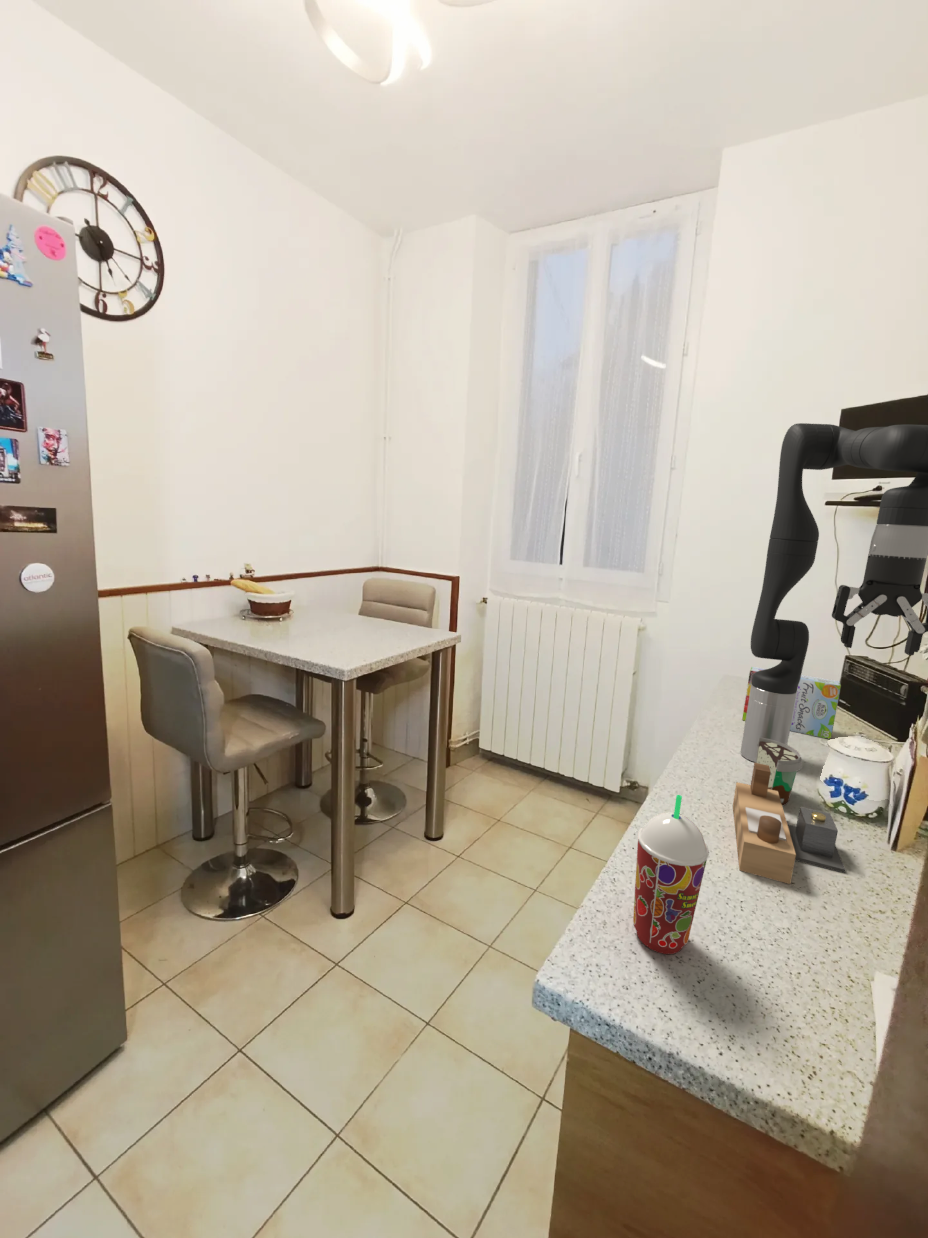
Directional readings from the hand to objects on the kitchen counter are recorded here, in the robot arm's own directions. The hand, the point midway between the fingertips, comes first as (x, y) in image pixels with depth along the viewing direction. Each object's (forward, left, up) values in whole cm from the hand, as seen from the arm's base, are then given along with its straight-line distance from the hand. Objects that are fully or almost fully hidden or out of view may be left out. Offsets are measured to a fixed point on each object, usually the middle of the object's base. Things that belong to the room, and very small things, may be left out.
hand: (877, 650), depth 91 cm
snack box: (-57, -2, -34) cm, 67 cm away
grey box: (+8, -5, -33) cm, 35 cm away
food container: (-10, -9, -34) cm, 37 cm away
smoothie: (+42, -28, -34) cm, 61 cm away
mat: (+8, -5, -34) cm, 35 cm away
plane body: (+10, -14, -34) cm, 38 cm away
